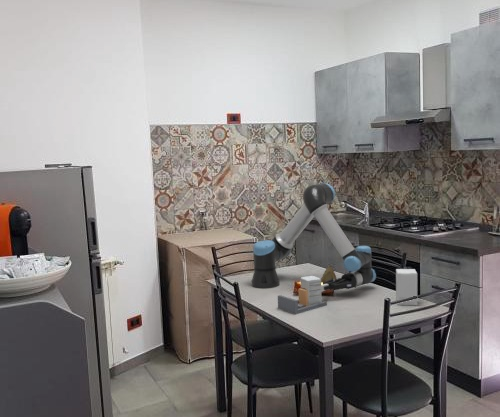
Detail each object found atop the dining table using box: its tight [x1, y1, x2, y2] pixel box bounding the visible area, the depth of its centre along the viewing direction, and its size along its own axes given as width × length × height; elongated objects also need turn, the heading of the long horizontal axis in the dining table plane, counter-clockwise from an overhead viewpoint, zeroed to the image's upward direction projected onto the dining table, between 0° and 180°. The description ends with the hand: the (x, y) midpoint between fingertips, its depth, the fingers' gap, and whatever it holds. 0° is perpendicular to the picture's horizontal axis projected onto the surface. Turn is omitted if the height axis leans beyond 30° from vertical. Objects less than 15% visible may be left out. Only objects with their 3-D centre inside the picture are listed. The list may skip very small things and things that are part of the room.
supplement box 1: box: [300, 275, 323, 306], centre depth 242 cm, size 7×7×13 cm
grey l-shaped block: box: [277, 294, 328, 315], centre depth 239 cm, size 12×20×6 cm, turn 127°
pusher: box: [298, 287, 308, 309], centre depth 239 cm, size 5×5×8 cm
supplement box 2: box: [395, 268, 418, 306], centre depth 239 cm, size 9×9×15 cm
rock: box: [320, 265, 338, 282], centre depth 273 cm, size 11×9×10 cm
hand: (317, 289), depth 244 cm, fingers closed
